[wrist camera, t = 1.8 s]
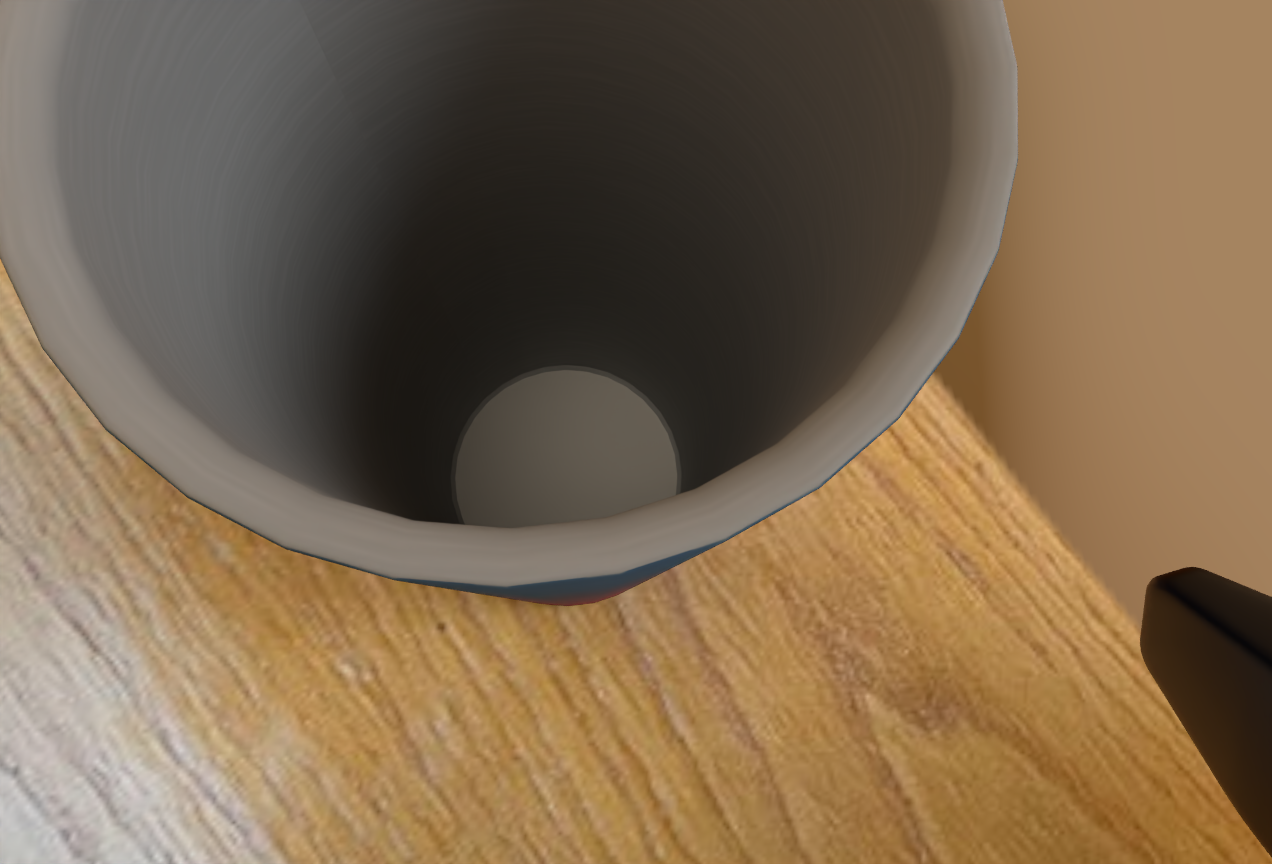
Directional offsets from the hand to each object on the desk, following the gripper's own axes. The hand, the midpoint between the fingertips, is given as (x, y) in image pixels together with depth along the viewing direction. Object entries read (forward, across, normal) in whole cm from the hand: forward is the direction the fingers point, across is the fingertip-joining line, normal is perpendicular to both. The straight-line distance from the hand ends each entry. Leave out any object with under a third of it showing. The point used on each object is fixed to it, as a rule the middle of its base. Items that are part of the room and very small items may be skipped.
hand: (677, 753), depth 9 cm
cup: (+12, 0, +5) cm, 13 cm away
